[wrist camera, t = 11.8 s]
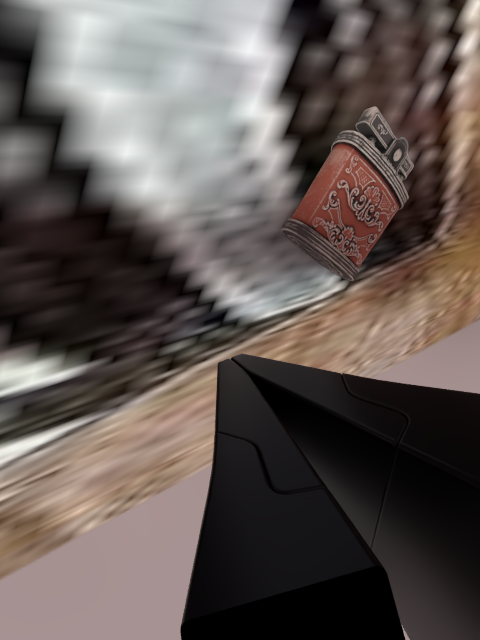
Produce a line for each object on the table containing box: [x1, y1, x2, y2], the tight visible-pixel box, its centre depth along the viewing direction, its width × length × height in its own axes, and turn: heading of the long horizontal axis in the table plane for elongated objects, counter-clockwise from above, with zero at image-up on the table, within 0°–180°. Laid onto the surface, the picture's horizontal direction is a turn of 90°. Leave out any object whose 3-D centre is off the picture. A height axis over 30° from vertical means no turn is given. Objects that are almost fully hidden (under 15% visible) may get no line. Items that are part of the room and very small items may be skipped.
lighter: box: [281, 107, 414, 281], centre depth 20 cm, size 8×3×10 cm
